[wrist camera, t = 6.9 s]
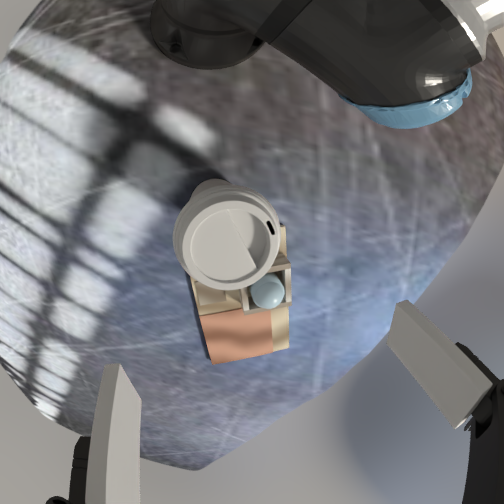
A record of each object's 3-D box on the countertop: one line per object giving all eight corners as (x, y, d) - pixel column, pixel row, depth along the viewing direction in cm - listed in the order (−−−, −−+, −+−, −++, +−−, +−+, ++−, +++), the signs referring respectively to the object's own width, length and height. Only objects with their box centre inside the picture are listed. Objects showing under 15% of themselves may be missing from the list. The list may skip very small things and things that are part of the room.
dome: (246, 272, 39) (254, 291, 34) (277, 267, 39) (288, 284, 35) (249, 299, 41) (257, 318, 36) (278, 293, 41) (289, 311, 37)
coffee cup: (252, 233, 39) (287, 289, 26) (183, 241, 37) (181, 305, 24) (249, 163, 35) (288, 185, 22) (174, 171, 33) (163, 197, 20)
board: (183, 241, 37) (182, 253, 34) (283, 224, 39) (293, 234, 36) (211, 360, 47) (214, 377, 44) (287, 344, 49) (294, 359, 46)
